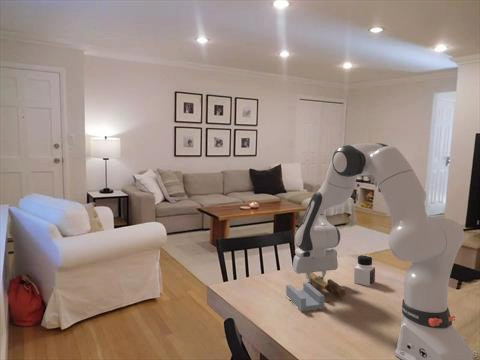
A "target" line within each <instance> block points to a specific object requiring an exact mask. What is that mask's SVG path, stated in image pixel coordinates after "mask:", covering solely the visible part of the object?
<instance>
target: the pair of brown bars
mask: <svg viewBox="0 0 480 360" xmlns="http://www.w3.org/2000/svg"><path fill="white" fill-rule="evenodd" d="M327 283H328V284H329V286H330V288H329V290H328V291H327V290H326V289H325V288H323V287H322V286H321V285H319V284H318V283H317V282H315V281H312V283H311V286H313V287H314V288H315V289H316V290H318V291H319V292H320V293H321V294H323V295H324V303H329V302H330V292H331V291H332V292H331V293H333V294H334V295H335V296H337V297H338V298H339V299H340V300H342V301H346V300H347V289H345V288H344V287H342V286H341V285H340V284H338V283H337V282H335V281H334V280H332V279H329V278H328V279H327Z"/></svg>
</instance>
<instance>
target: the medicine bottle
mask: <svg viewBox="0 0 480 360" xmlns="http://www.w3.org/2000/svg"><path fill="white" fill-rule="evenodd" d="M353 271H354V273H353V280H354V281H353V283H354V284H358V285H361V286H366V287H371V286H372V285H373V284H374V283H375V282H376V266H374V265H373V258H372V256H370V255H367V254H361V255H359V256H357V265H355V267H354V270H353Z"/></svg>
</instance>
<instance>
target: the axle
mask: <svg viewBox="0 0 480 360" xmlns="http://www.w3.org/2000/svg"><path fill="white" fill-rule="evenodd" d="M309 276H310V277H311V278H312V281H315V282H317V283H318V284H319V285H321V286H322V287H323V288H325V289H326V290H327V291H330V290H329V288H330V286H329V284H328V282H326V281H325V279H324V280H322V279H321V278H319V275H317V274H316V273H315V272H310V275H309ZM305 279H306V280H307V281H308V277H307V276H305ZM310 283H311V284H312V282H310Z"/></svg>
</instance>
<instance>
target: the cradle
mask: <svg viewBox="0 0 480 360" xmlns="http://www.w3.org/2000/svg"><path fill="white" fill-rule="evenodd" d="M285 288H286V289H285V294H286V295H287V296H288V297H289V298H290V299H291V301H292V302H293V303H294V304H295V305H296V306H297V307H298V309H299V310H300V311H305V312H309V311H308V310H313V311H318V310H317V309H320V310H325V301H324V295H323V294H321V293H320V292H319V291H318V290H316V289H315V288H314V287H313V286H312V284H310V282H303V283H302V290H298V289H296V287H294V286H293V285H292V284H286V285H285ZM291 301H290V302H291ZM292 302H291V303H292ZM293 303H292V304H293ZM294 304H293V305H294ZM295 305H294V306H295ZM298 309H297V310H298ZM299 310H298V311H299ZM300 311H299V312H300Z"/></svg>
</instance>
